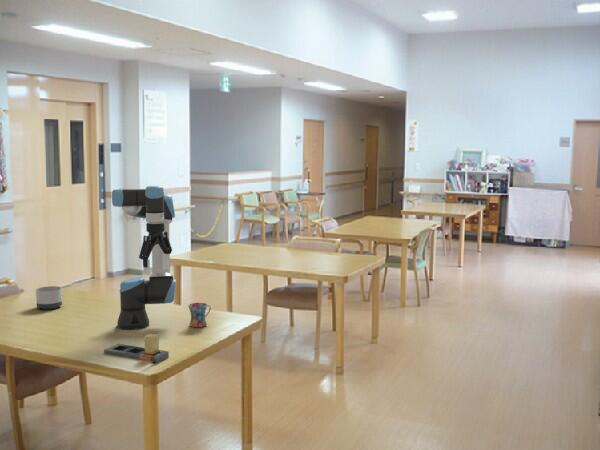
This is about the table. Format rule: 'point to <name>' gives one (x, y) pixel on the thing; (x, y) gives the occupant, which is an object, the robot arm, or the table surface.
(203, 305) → the mug
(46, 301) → the planter
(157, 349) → the tan rectangular block
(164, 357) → the rail
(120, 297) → the robot arm
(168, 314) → the table surface
